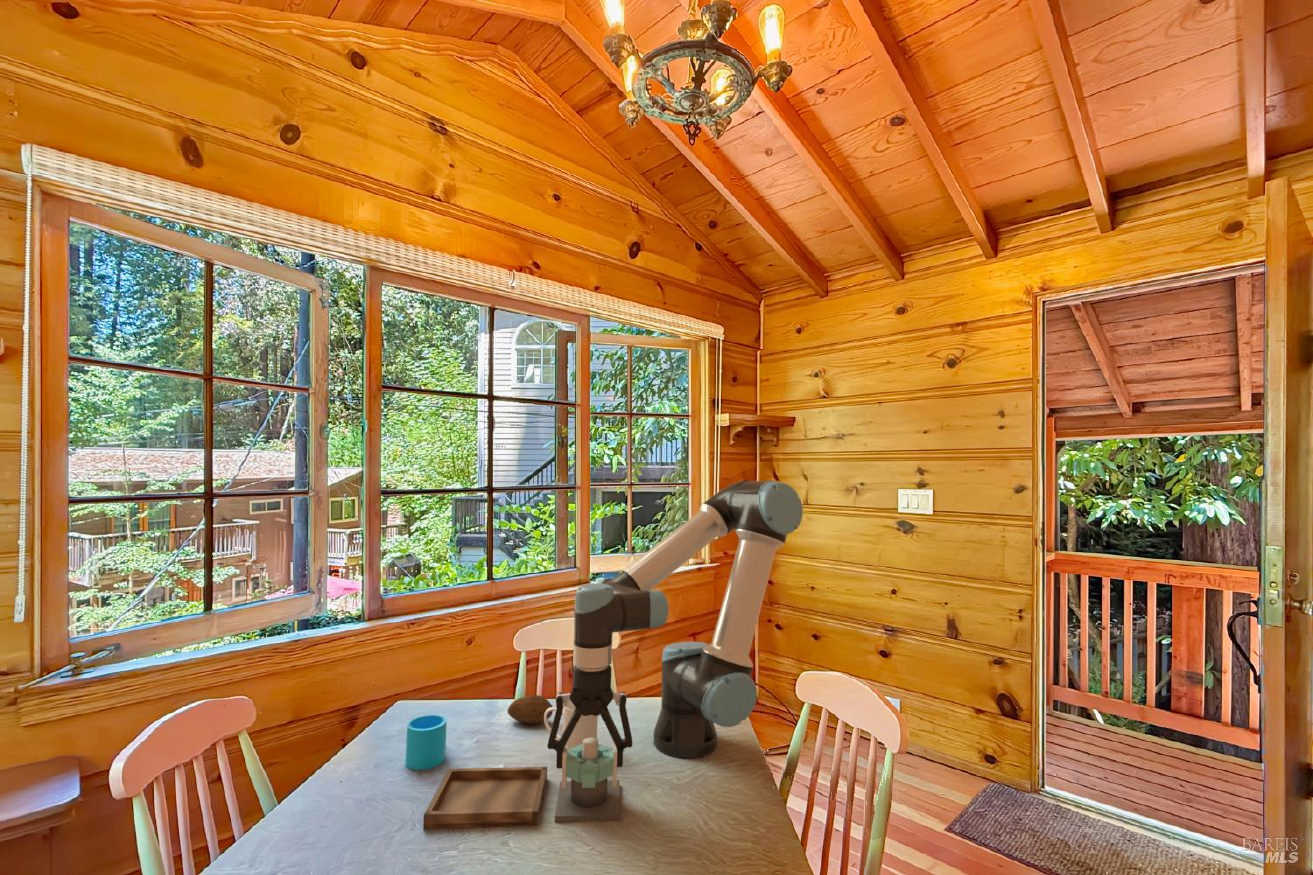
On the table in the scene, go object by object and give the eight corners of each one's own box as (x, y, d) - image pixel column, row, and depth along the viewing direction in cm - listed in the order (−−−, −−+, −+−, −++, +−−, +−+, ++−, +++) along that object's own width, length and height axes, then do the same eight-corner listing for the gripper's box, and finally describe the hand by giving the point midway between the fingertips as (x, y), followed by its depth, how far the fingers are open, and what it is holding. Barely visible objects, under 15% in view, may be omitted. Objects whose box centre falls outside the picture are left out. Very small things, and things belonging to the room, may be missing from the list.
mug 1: (434, 771, 122) (436, 731, 123) (397, 768, 123) (399, 729, 124) (458, 745, 134) (460, 709, 135) (425, 742, 135) (426, 707, 135)
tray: (546, 779, 120) (547, 766, 120) (537, 825, 104) (537, 811, 104) (448, 781, 118) (448, 768, 118) (423, 829, 102) (423, 814, 102)
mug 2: (596, 742, 137) (597, 696, 137) (597, 758, 129) (598, 710, 130) (544, 744, 135) (545, 698, 136) (541, 760, 127) (543, 712, 128)
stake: (619, 784, 118) (620, 727, 119) (620, 819, 106) (621, 755, 107) (560, 786, 117) (561, 728, 118) (554, 821, 105) (556, 756, 106)
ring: (612, 758, 117) (613, 743, 117) (613, 786, 106) (613, 770, 106) (568, 759, 116) (568, 744, 116) (563, 788, 106) (564, 771, 106)
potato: (510, 717, 150) (511, 689, 151) (555, 717, 150) (556, 690, 151) (504, 728, 143) (505, 699, 144) (551, 728, 144) (552, 700, 144)
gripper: (646, 658, 118) (644, 772, 116) (538, 659, 116) (535, 775, 115) (648, 671, 110) (646, 793, 109) (533, 672, 109) (529, 796, 107)
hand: (589, 783), depth 112 cm, fingers closed on ring, 9 cm apart
